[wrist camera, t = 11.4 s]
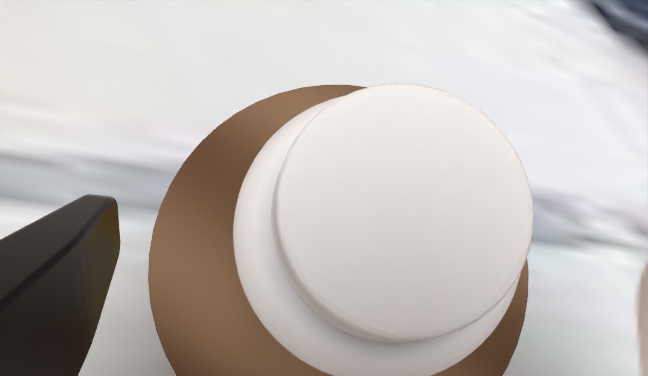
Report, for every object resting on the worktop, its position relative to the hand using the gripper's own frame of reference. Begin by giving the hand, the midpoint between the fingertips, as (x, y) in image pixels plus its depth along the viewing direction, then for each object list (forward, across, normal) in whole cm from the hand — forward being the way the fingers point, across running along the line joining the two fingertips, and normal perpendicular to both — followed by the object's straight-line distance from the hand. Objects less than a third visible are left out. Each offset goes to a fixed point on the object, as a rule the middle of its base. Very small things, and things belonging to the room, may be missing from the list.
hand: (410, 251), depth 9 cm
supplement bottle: (+8, 0, +7) cm, 10 cm away
